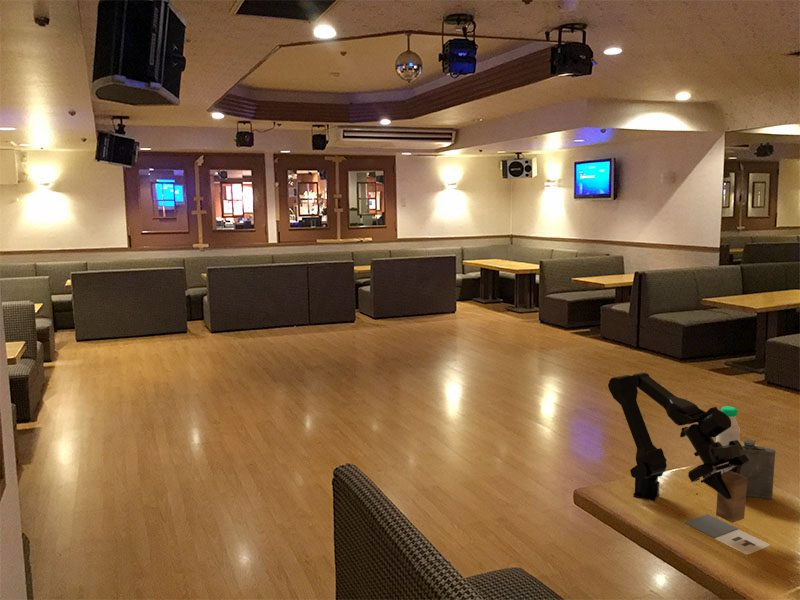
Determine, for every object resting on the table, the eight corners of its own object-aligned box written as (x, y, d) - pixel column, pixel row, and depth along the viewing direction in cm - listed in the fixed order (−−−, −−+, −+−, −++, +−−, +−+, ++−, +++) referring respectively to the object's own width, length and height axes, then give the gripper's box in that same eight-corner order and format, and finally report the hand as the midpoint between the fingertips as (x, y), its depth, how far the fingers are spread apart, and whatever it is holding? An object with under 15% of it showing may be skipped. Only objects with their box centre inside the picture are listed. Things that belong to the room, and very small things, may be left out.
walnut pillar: (715, 515, 185) (718, 474, 182) (727, 510, 187) (731, 470, 185) (732, 523, 180) (735, 481, 178) (744, 518, 182) (747, 477, 180)
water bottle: (740, 479, 220) (744, 407, 216) (733, 486, 215) (737, 412, 211) (717, 474, 225) (721, 403, 221) (710, 480, 220) (714, 408, 216)
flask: (720, 491, 212) (723, 437, 209) (769, 495, 208) (773, 440, 206) (722, 496, 209) (725, 441, 206) (773, 500, 205) (777, 444, 202)
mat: (683, 524, 192) (683, 522, 192) (707, 515, 196) (707, 513, 196) (714, 539, 183) (714, 537, 183) (738, 530, 187) (738, 528, 187)
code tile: (713, 539, 183) (713, 537, 183) (737, 530, 188) (737, 528, 187) (746, 556, 174) (746, 554, 174) (771, 546, 179) (771, 544, 179)
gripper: (700, 438, 179) (733, 493, 171) (745, 425, 187) (779, 477, 179) (674, 455, 187) (705, 508, 179) (718, 442, 195) (750, 492, 188)
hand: (736, 496), depth 181 cm, fingers closed on walnut pillar, 5 cm apart
